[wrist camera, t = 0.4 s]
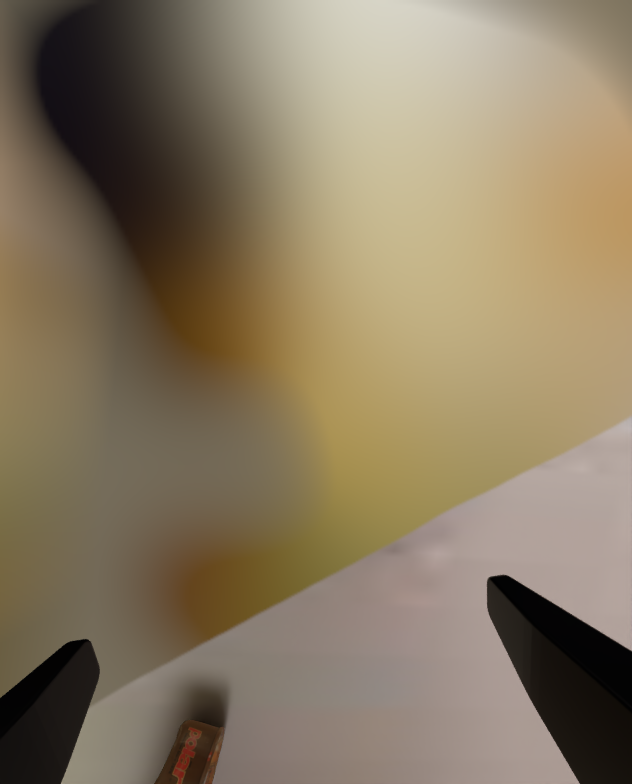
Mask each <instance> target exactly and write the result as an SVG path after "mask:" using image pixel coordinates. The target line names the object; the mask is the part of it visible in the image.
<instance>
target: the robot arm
mask: <svg viewBox="0 0 632 784" xmlns="http://www.w3.org/2000/svg"><path fill="white" fill-rule="evenodd" d="M487 608H488V612H489V615H490V618H491V620H492V622H493V624H494V626H495V628H496V630H497V632H498V635H499V637H500V639H501V641H502V643H503V645H504V647H505V649H506V651H507V653H508V655H509V657H510V659H511V661H512V663H513V665H514V667H515V670H516V672H517V674H518V676H519V678H520V680H521V682H522V684H523V686H524V688H525V690H526V692H527V694H528V696H529V698H530V699H531V701H532V703H533V705H534V707H535V708H536V710H537V712H538V714H539V715H540V717H541V719H542V720H543V722H544V724H545V725H546V727H547V729H548V731H549V732H550V734H551V736H552V737H553V739H554V741H555V742H556V744H557V746H558V747H559V749H560V751H561V753H562V754H563V756H564V758H565V759H566V761H567V763H568V764H569V766H570V768H571V769H572V771H573V773H574V775H575V776H576V778H577V780H578V781H579V783H580V784H632V651H631V650H629V649H627V648H626V647H624V646H623V645H621V644H619V643H618V642H616V641H614V640H613V639H611V638H609V637H608V636H606V635H605V634H603V633H601V632H600V631H598V630H596V629H595V628H593V627H591V626H590V625H588V624H587V623H585V622H583V621H582V620H580V619H578V618H577V617H575V616H573V615H572V614H570V613H569V612H567V611H565V610H564V609H562V608H560V607H559V606H557V605H555V604H554V603H552V602H551V601H549V600H547V599H546V598H544V597H542V596H541V595H539V594H537V593H536V592H534V591H533V590H531V589H529V588H528V587H526V586H524V585H523V584H521V583H519V582H518V581H516V580H515V579H513V578H511V577H509V576H507V575H498V576H491V577H489V578H488V580H487ZM99 674H100V669H99V663H98V661H97V658H96V655H95V652H94V649H93V646H92V643H91V642H90V641H89V640H88V639H82V640H76V641H70V642H68V643H66V644H65V645H63V646H62V647H61V648H60V649H59V650H57V651H56V652H55V653H54V654H53V655H51V656H50V657H49V658H48V659H47V660H45V661H44V662H43V663H42V664H41V665H39V666H38V667H37V668H36V669H35V670H33V671H32V672H31V673H30V674H29V675H27V676H26V677H25V678H24V679H23V680H21V681H20V682H19V683H18V684H17V685H15V686H14V687H13V688H12V689H11V690H9V691H8V692H7V693H6V694H5V695H3V696H2V697H1V698H0V784H61V782H62V779H63V777H64V774H65V772H66V769H67V767H68V764H69V761H70V759H71V756H72V753H73V750H74V747H75V745H76V742H77V739H78V736H79V733H80V731H81V728H82V725H83V722H84V719H85V716H86V714H87V711H88V708H89V705H90V702H91V699H92V697H93V694H94V691H95V688H96V685H97V682H98V679H99Z"/></svg>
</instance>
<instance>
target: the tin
mask: <svg viewBox="0 0 632 784" xmlns="http://www.w3.org/2000/svg"><path fill="white" fill-rule="evenodd" d="M223 736H224V727H220V728H218V727H215V726H212V725H209V724H205V723H202V722H199V721H195V720H187V721H185V722H184V723H183V724H182V725H181V726H180V728H179V731H178V734H177V739H176V741H175V743H174V745H173V747H172V750H171V752H170V754H169V756H168V759H167V761H166V763H165V765H164V767H163V769H162V771H161V773H160V775H159V777H158V778H157V780H156V782H155V783H154V784H212V781H213V777H214V773H215V769H216V765H217V762H218V758H219V754H220V750H221V745H222V741H223Z"/></svg>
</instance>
